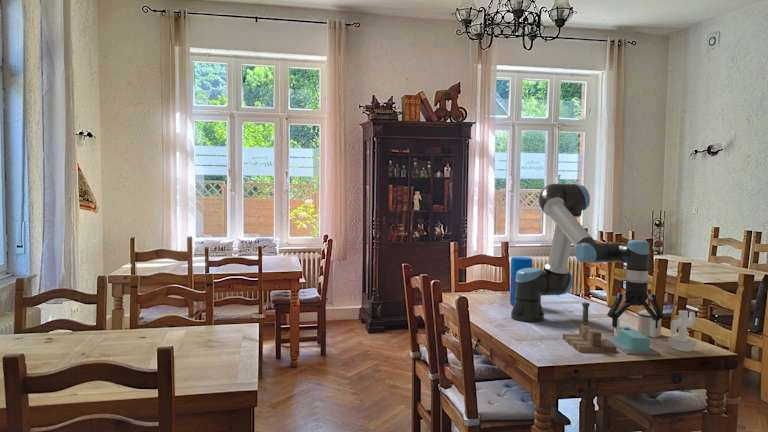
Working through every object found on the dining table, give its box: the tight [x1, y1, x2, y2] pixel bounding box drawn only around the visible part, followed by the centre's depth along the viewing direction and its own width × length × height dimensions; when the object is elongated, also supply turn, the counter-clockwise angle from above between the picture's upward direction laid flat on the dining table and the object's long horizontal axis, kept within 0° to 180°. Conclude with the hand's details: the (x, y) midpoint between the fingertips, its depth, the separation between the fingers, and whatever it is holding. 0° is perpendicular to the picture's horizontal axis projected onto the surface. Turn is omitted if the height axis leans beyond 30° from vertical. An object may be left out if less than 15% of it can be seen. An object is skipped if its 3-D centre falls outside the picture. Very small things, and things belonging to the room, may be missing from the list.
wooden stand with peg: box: [562, 301, 618, 353], centre depth 206 cm, size 18×14×16 cm
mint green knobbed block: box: [613, 326, 651, 351], centre depth 206 cm, size 16×6×5 cm, turn 0°
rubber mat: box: [604, 337, 661, 356], centre depth 206 cm, size 20×12×1 cm, turn 0°
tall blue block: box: [509, 256, 533, 307], centre depth 279 cm, size 11×11×25 cm
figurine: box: [667, 310, 698, 352], centre depth 202 cm, size 7×9×15 cm
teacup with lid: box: [637, 306, 662, 338], centre depth 225 cm, size 12×9×12 cm
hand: (634, 336), depth 203 cm, fingers open, 13 cm apart
